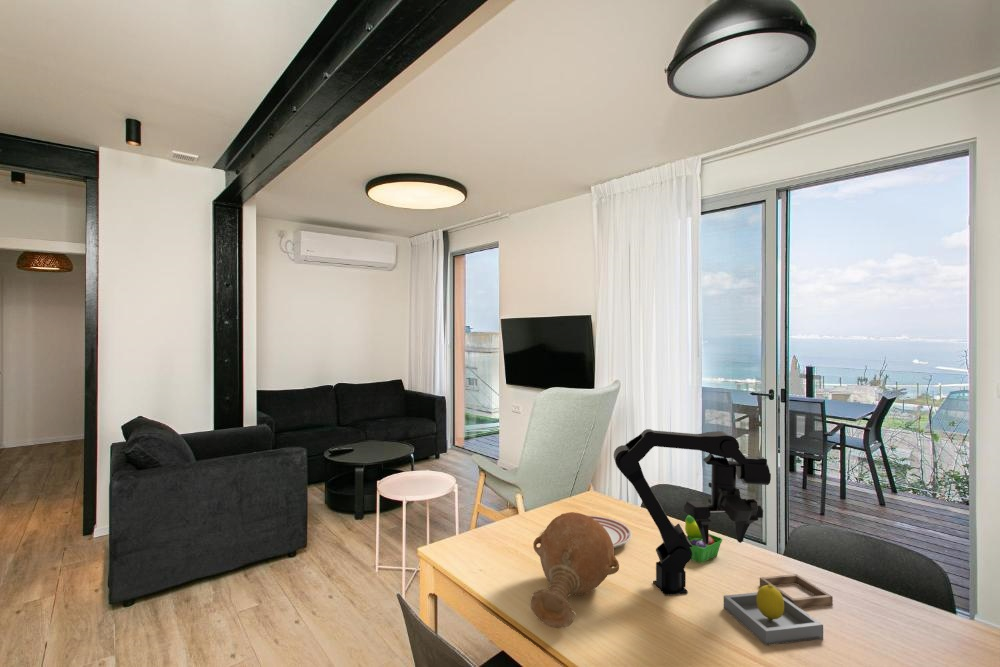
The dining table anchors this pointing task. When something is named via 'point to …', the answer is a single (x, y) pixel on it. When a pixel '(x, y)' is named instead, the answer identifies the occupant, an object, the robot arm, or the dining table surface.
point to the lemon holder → (817, 600)
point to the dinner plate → (614, 530)
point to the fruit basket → (701, 542)
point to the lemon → (770, 602)
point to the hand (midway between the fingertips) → (722, 542)
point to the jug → (571, 565)
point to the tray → (773, 621)
